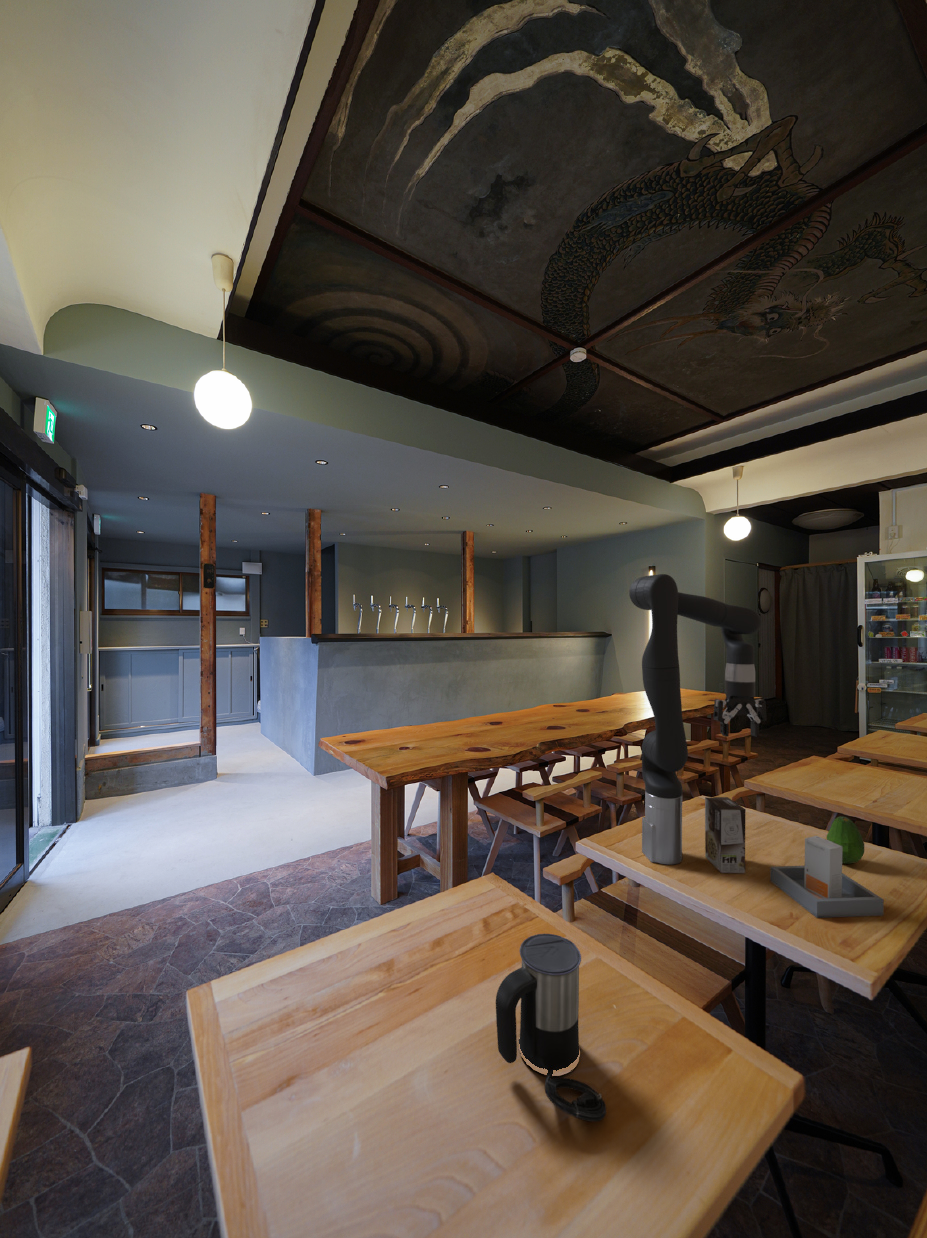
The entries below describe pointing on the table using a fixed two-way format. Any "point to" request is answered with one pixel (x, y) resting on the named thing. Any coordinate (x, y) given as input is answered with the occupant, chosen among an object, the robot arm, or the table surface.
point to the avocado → (847, 839)
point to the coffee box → (725, 834)
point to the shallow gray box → (851, 903)
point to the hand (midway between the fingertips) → (739, 736)
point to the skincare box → (823, 867)
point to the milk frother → (547, 1018)
